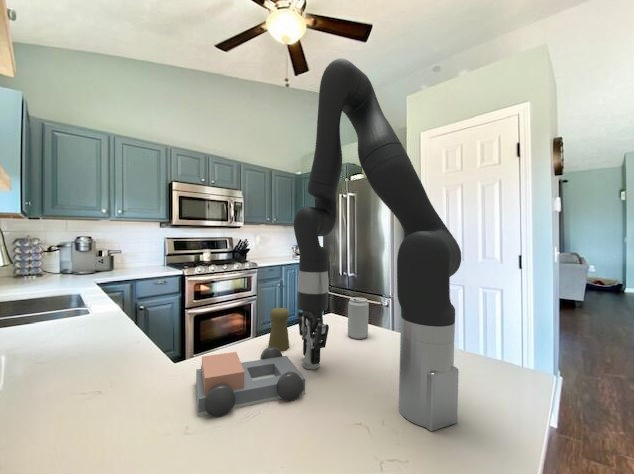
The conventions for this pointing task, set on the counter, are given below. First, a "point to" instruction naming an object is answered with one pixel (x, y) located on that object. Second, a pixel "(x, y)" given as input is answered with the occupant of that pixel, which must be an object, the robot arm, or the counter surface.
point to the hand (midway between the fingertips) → (311, 358)
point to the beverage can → (358, 318)
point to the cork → (279, 329)
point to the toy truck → (245, 381)
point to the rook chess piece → (309, 356)
